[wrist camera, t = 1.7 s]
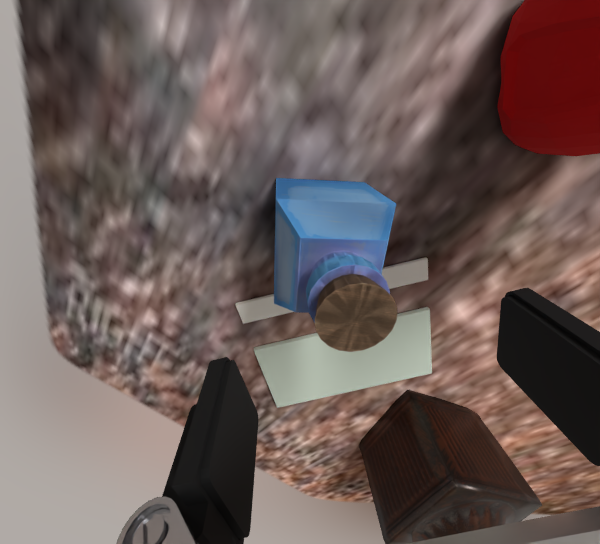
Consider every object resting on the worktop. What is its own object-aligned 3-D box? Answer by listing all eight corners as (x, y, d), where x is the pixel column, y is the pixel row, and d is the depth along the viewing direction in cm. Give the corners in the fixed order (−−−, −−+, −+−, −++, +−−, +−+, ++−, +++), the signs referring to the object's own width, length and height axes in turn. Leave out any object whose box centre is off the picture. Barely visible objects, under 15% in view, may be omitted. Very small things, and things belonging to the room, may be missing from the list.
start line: (235, 302, 24) (235, 305, 24) (425, 257, 24) (427, 258, 23) (243, 321, 25) (243, 323, 25) (426, 278, 24) (428, 279, 24)
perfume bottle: (364, 182, 21) (458, 245, 10) (352, 261, 23) (415, 378, 13) (276, 177, 20) (275, 240, 9) (274, 259, 23) (272, 380, 12)
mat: (254, 347, 27) (253, 350, 26) (427, 306, 26) (429, 309, 25) (277, 404, 30) (277, 407, 30) (429, 370, 29) (431, 373, 29)
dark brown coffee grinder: (352, 448, 35) (417, 726, 19) (407, 386, 30) (551, 678, 14) (451, 472, 39) (574, 719, 23) (511, 421, 34) (714, 679, 18)
